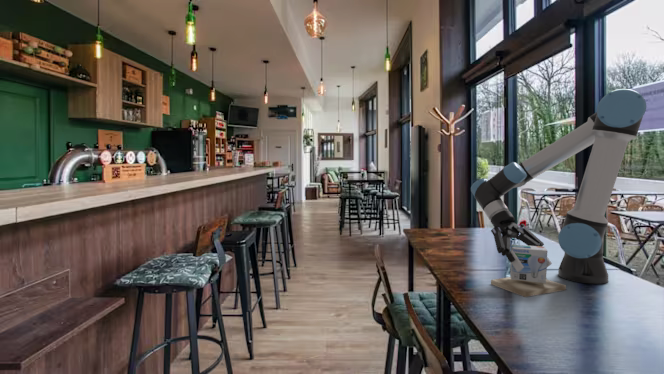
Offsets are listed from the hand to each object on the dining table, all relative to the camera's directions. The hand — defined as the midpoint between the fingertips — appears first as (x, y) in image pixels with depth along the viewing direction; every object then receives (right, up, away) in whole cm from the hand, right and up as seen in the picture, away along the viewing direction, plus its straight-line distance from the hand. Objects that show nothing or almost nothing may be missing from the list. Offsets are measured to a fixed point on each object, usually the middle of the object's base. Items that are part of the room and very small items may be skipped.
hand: (534, 267), depth 127 cm
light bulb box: (-1, -4, +3) cm, 5 cm away
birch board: (-1, -7, +3) cm, 8 cm away
